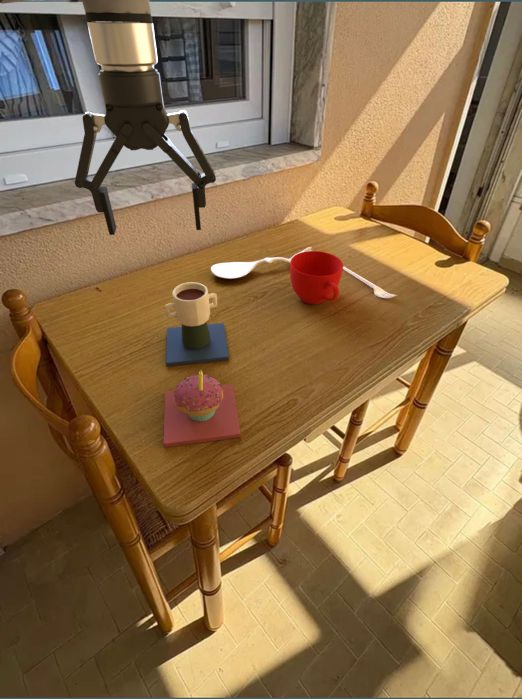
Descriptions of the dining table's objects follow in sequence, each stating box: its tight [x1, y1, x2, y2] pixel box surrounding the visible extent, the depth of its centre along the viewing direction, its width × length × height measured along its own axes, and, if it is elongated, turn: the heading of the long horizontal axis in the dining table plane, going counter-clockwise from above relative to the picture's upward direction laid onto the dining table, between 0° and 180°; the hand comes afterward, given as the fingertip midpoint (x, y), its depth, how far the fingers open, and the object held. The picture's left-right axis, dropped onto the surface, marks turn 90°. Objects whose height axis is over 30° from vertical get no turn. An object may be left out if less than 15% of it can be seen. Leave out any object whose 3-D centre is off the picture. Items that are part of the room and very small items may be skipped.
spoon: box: [210, 246, 314, 280], centre depth 109 cm, size 9×32×4 cm, turn 108°
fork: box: [343, 266, 398, 299], centre depth 104 cm, size 3×20×2 cm, turn 31°
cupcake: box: [173, 369, 223, 421], centre depth 65 cm, size 9×8×12 cm
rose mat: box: [163, 383, 242, 448], centre depth 69 cm, size 13×12×1 cm
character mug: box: [164, 281, 218, 349], centre depth 79 cm, size 11×7×13 cm, turn 115°
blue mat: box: [165, 322, 230, 367], centre depth 84 cm, size 13×12×1 cm
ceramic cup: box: [289, 250, 344, 305], centre depth 95 cm, size 13×17×10 cm
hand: (156, 229), depth 62 cm, fingers open, 13 cm apart
